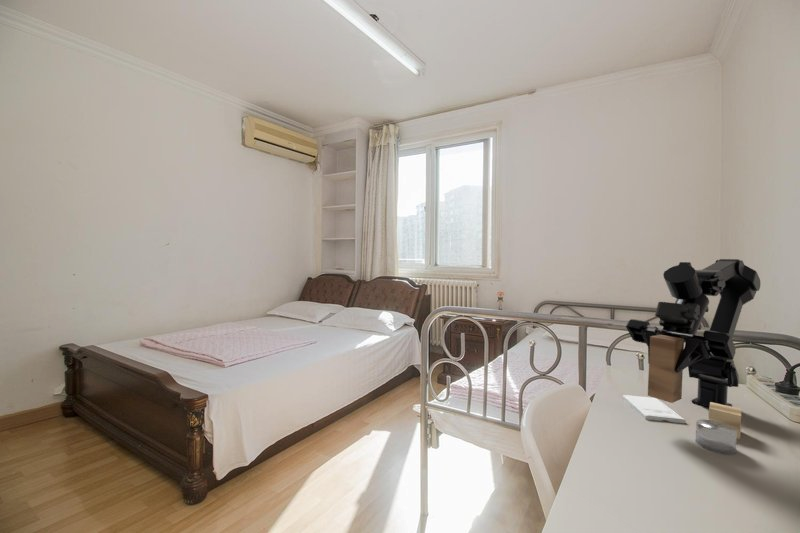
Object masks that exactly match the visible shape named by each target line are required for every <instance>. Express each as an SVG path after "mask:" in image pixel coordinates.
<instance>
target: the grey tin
mask: <svg viewBox="0 0 800 533" xmlns="http://www.w3.org/2000/svg"><path fill="white" fill-rule="evenodd" d="M694 438H695V443H696V444H697V445H698V446H700V447H701V448H703V449H705V450H708V451H710V452H713V453H716V454H721V455H728V456H731V455H735V454H736V453H737V444H738V443H737V441H738V439H737V431H736V430H735V429H734V428H732V427H730V426H728V425H725V424H723V423H719V422H715V421H711V420H709V419H697V420H696V421H695V437H694Z"/></svg>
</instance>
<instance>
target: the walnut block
mask: <svg viewBox="0 0 800 533" xmlns="http://www.w3.org/2000/svg"><path fill="white" fill-rule="evenodd" d="M684 348H685V343H684V339H683V338H677V337H672V336H666V335H655V336H650V351H649V363H648V376H647V377H648V378H647V379H648V381H647V397H651V398H657V399H658V400H660V401H664V402H667V403H671V404H673V403H675V402H678V401H680V400H682V396H683V395H682V393H683V392H682V391H683V374H684V372H683V371H684V369H683V370H682V371H680V372H678V373H677V372H676V371H675V367H676V363H677V361H678V359H679V357H680V356H681V354H682V352H683V350H684Z"/></svg>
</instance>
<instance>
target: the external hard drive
mask: <svg viewBox="0 0 800 533" xmlns="http://www.w3.org/2000/svg"><path fill="white" fill-rule="evenodd" d="M622 400H623V401H625V402H626V403H627V404H628V406H630V407H631V408H632V409H634V410H635V412H636V413H637V414H639V415H640V416H641V417H642V418H643V419H644V420H649V421H659V422H662V421H663V422H669V423H677V424H686V422H687V420H686V419H685V418H683V417H682V416H681V415H679V413H677V412H675V411H674V410H673V409H672V408H670V407H669V406H667V404H665V403H664V402H662V400H660V399H657V398H654V397H651V396H639V395H638V396H637V395H627V394H623V395H622Z"/></svg>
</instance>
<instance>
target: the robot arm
mask: <svg viewBox="0 0 800 533" xmlns="http://www.w3.org/2000/svg"><path fill="white" fill-rule="evenodd" d="M663 278H664V279H663V280H664V282H665V284H666V286H667V288H668V290H669V293H670V295H671V297H672V298H675V302H666V301H658V303H657V306H656V310H655V313H654V314H655V315H654V316H655V317H657V318H658V319H659V322H658V323H659V324H658V325H659V326H660V327H662V328H658V327H657V326H656V325H655V326H654V325H651V324H650V322H649V321H648V320H641V319H634V318H632V319H629V320H628V321H627V323H626V324H625V328H626V329H627V332H628V333H629V336H630V337H631V340H632V341H635V343H636V342H637V343H641V344H646V346H647V356H648V357H647V358H648V360H647V361H648V364H649V351H650V336H655V335H666V336H672V337H677V338H683V339H684V350H683V352H682V354H681V356H680V357H679V359H678V361H677V363H676V367H675V371H676V372H677V373H678V372H680V371H682V370H683V371H684V370H685V369H687V368H688V376H689V378H691V379H692V378H693V379H697V397H695V398H693V399H691V403H693V404H697V405H701V406H703V407H707V408H709V406H710V402H713V403H717V404H722V405H726V406H731V407H733V404H732V403H729V402H728V392H729V390H728V389H729V388H734V387H735V388H738V387H739V384H740V379H739V373H738V370H737V367H736V365H735V361H734V358H735V355H736V346H735V343H734V341H733V337H734V334H735V332H736V331H735V330H736V328H737V324H738V321H739V318H740V315H741V312H742V308H743V306H744V305H746V304H747V303H749V302H751V301H752V300H754V299H755V296H756V293H757V292H758V291H760V288H761V279H760V276H759V274H758V272H757V270H754V269H753V268H751V267H749V266H747V265H746V264H745V263H744V261H743V259H741V260H740V259H739V258H737V259H736V258H720V259H716V260H715V262H714V263H712V264H710V265H708V266H706V267H705V268H703V269H695V268H694V267H693V266H692V263H691V261H688V262H687V261H686V262H684V261H680V262H679V263H678V264H677V265H674V266H671V267H670V268H667V269H666V270H665V271H664V272H663ZM718 295H719V296H720V299H719V301H718V302H719V303H718V304H717V308H716V311H715V314H714V315H713V319H712V322H711V325H710V327H709V329H705V330H704V332H703V335H697V333H698V331H701V330H702V327H703V326H702V321H703V318H704V316H705V314H706V313H708V312H709V304H710V299H709V297H717V296H718Z"/></svg>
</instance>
